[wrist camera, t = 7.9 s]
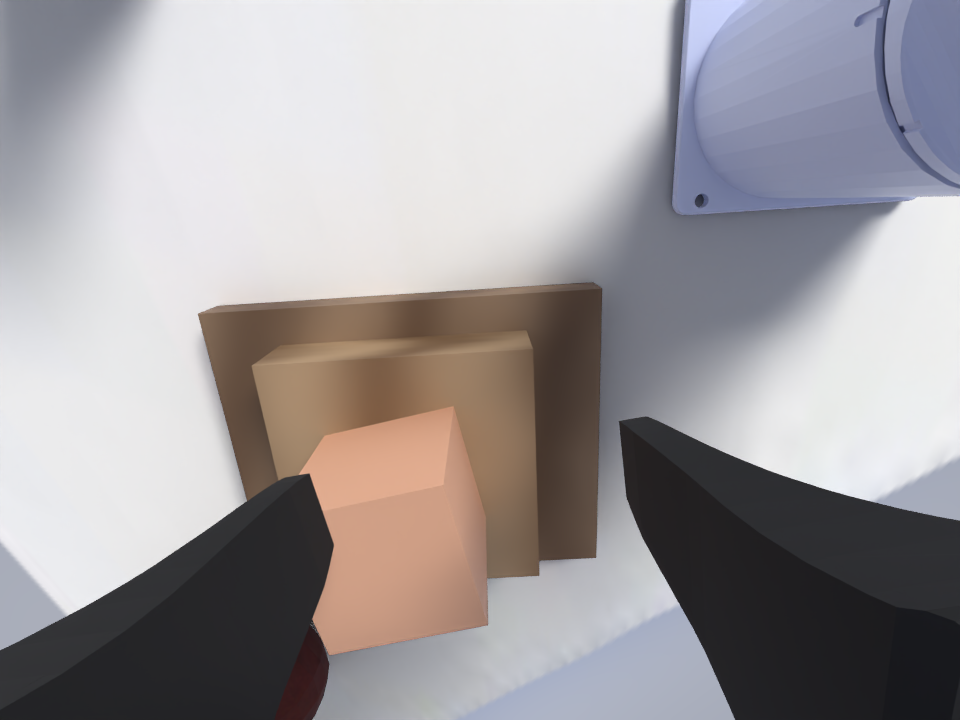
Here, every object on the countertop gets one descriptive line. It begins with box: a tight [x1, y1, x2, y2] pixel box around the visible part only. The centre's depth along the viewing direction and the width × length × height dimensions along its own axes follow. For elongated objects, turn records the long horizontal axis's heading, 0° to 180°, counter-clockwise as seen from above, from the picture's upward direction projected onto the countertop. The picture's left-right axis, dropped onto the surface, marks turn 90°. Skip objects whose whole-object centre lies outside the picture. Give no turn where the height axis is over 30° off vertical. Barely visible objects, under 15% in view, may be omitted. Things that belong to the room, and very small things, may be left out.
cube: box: [299, 406, 488, 655], centre depth 16 cm, size 5×5×5 cm
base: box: [198, 282, 602, 578], centre depth 20 cm, size 16×13×4 cm
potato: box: [275, 626, 329, 720], centre depth 22 cm, size 7×8×7 cm
